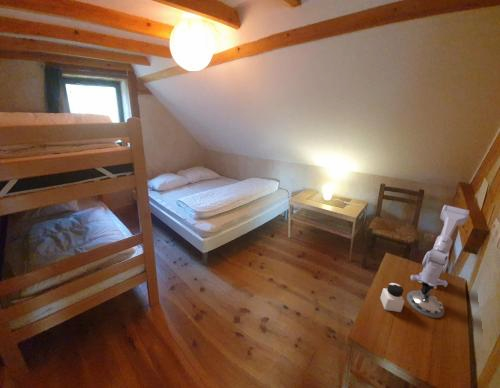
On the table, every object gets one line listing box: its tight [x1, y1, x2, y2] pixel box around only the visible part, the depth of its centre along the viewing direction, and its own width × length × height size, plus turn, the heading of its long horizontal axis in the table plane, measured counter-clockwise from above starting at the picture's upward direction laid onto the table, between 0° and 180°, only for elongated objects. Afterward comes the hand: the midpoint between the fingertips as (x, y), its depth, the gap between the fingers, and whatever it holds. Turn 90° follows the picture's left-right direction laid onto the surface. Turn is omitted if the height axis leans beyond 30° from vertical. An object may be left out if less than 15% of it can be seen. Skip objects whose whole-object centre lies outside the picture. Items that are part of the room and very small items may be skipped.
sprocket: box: [410, 289, 444, 314], centre depth 110 cm, size 13×13×5 cm
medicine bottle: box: [380, 282, 405, 313], centre depth 109 cm, size 7×7×12 cm
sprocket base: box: [405, 290, 445, 319], centre depth 112 cm, size 15×15×1 cm
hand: (423, 293), depth 114 cm, fingers closed
